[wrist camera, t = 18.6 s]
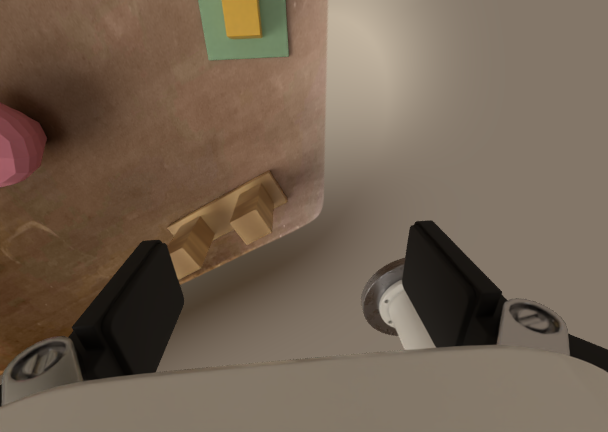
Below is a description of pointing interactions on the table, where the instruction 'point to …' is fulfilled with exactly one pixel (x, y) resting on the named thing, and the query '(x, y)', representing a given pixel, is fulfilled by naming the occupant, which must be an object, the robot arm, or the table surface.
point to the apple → (19, 145)
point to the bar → (242, 19)
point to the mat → (226, 48)
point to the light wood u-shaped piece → (225, 221)
